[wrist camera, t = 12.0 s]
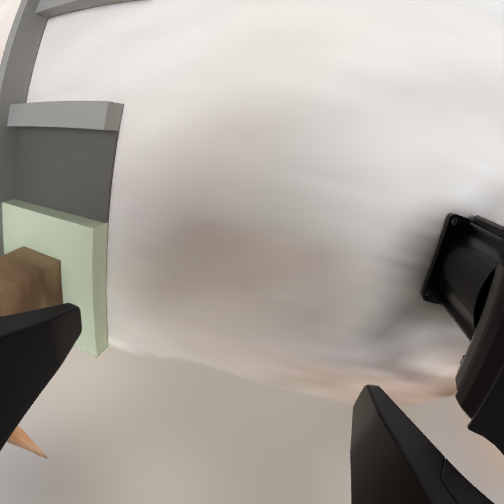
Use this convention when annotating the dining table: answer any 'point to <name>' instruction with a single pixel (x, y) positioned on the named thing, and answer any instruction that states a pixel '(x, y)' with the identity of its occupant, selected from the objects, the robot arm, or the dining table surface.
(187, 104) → the dining table surface
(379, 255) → the dining table surface
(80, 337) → the tray
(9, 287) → the walnut block
